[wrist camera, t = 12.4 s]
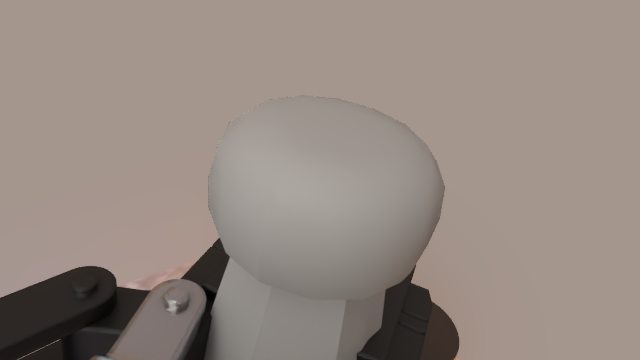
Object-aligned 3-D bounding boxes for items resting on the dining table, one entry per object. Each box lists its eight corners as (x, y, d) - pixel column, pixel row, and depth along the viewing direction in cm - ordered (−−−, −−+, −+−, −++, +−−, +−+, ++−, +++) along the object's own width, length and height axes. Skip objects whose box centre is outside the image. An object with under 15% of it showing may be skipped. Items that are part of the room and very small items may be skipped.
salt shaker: (150, 426, 17) (146, 58, 10) (306, 384, 19) (393, 65, 12) (181, 644, 12) (214, 263, 5) (377, 554, 15) (578, 209, 8)
